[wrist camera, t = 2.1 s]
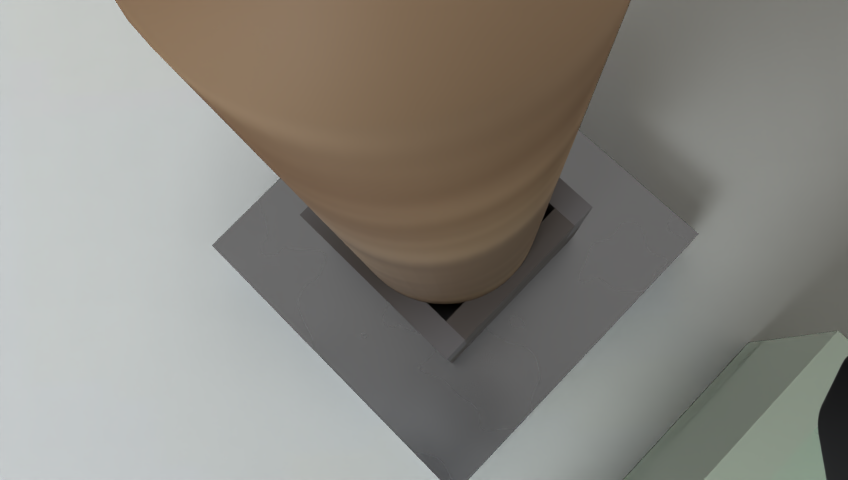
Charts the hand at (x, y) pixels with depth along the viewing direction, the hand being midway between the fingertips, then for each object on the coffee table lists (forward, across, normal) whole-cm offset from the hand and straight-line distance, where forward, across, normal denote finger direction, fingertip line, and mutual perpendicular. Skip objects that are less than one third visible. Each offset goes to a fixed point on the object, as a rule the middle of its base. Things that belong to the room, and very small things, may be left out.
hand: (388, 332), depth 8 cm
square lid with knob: (+10, 0, +6) cm, 11 cm away
